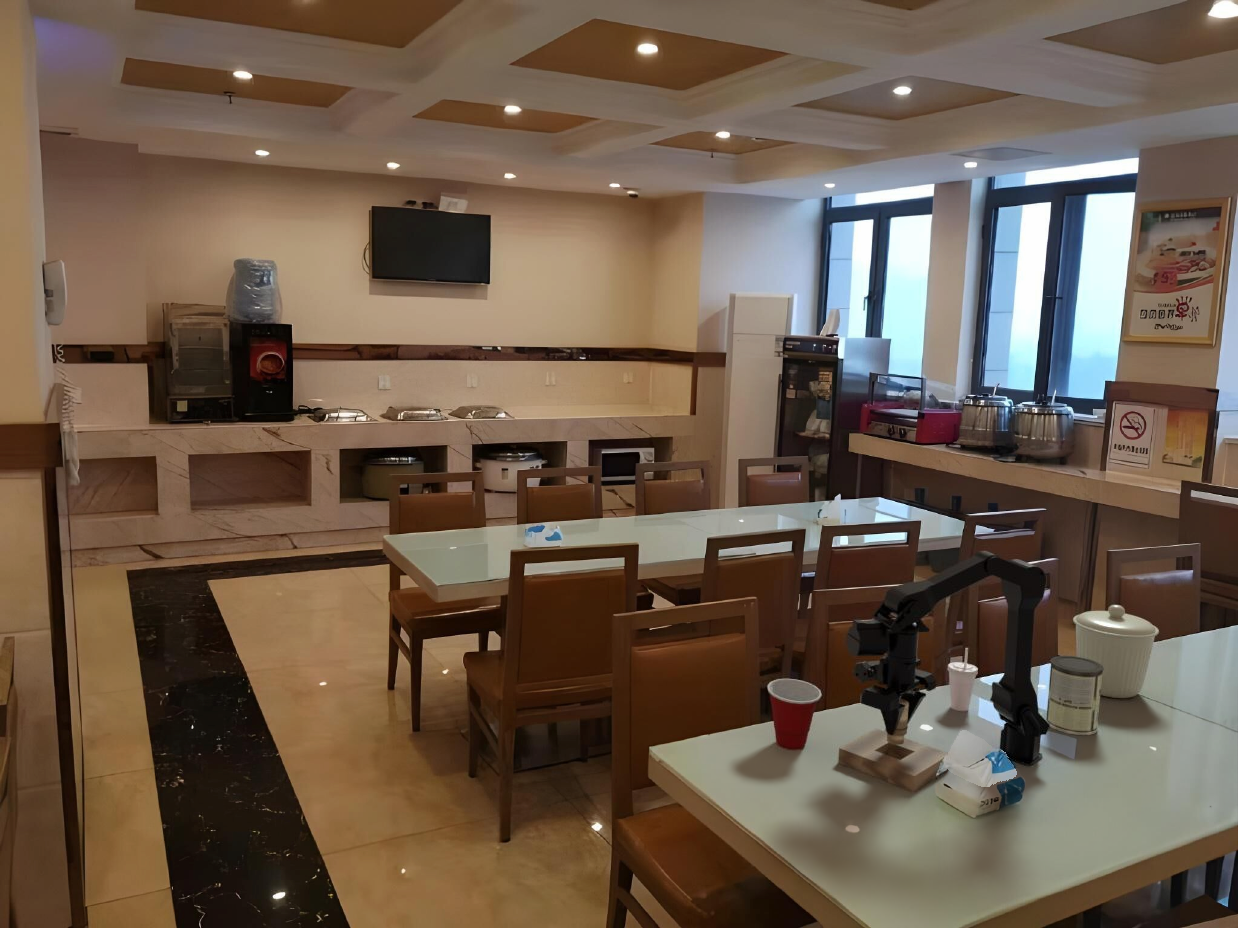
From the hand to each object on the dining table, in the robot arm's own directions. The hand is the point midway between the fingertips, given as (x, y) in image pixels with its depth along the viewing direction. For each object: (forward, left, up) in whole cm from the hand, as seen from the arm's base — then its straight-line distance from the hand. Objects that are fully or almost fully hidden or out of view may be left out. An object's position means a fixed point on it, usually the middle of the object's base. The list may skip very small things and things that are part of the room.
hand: (896, 731), depth 186 cm
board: (0, 0, -7) cm, 7 cm away
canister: (-14, -76, -7) cm, 78 cm away
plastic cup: (+19, +7, -7) cm, 22 cm away
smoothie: (+5, -38, -7) cm, 39 cm away
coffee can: (-16, -47, -7) cm, 50 cm away
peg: (0, 0, -2) cm, 2 cm away
